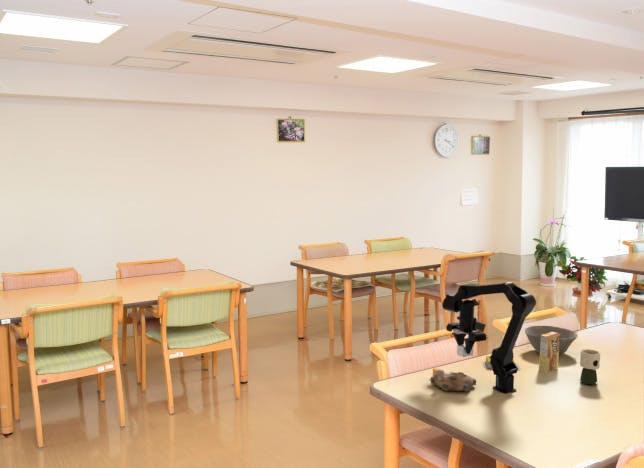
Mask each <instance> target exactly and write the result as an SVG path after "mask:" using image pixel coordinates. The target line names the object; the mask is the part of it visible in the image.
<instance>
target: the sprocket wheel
mask: <svg viewBox="0 0 644 468" xmlns="http://www.w3.org/2000/svg"><path fill="white" fill-rule="evenodd" d="M430 384H431V385H435V386H436V387H438V388H441V390H443V391H455V392H456V391H458V392H459V391H460V392H461V391H462V392H463V391H464V392H470V390H471V389H472V388H473V386H477V379H476V378H472V377H471V376H469V375H468V374H465V373H464V372H460V371H458V372H454V371H453V372H452V371H444V370H443V369H441V370H439V372H438V374H436V375H434V377H433V376H430Z"/></svg>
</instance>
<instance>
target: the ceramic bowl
mask: <svg viewBox="0 0 644 468" xmlns="http://www.w3.org/2000/svg"><path fill="white" fill-rule="evenodd" d="M550 332H555V333H559V334H560V345H559V355H563V354H564V353H566V352H567V351H568V349H569V348H570V346H571V345H572V343H574V341H575V340H576V339H577V338H578V333H577V332H575V331H573V330H571V329H567V328H564V327H558V326H553V325H531V326H528V327H526V328H525V329H524V333H525V334H526V337H527V340H528V342H529V343H530V346H532V347H533V349H535V351H537V353H539V354H540V343H541V335H543V334H546V333H550Z"/></svg>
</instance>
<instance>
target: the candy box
mask: <svg viewBox="0 0 644 468" xmlns="http://www.w3.org/2000/svg"><path fill="white" fill-rule="evenodd" d="M559 345H560V334H559V333H555V332H550V333H546V334H543V335H541V343H540V353H539V358H538V361H539V362H538V370H539V371H542V372H545V373H548V372H552V371H553V370H556V369H559Z"/></svg>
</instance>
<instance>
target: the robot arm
mask: <svg viewBox="0 0 644 468" xmlns="http://www.w3.org/2000/svg"><path fill="white" fill-rule="evenodd" d="M495 294H503V295H504V296H505V297H506V299H507V301H509V303H511V304H512V305H511V313H512V316H511V318H510V320H509V323H508V326H507V328H506V331H505V333H504V336H503V338H502V341H501V343H500V346H499V347H495V348H493V349H492V351H491V355H489V356H490V357H489V358H491V359H490V364H491V366H492V369H491V370H492V372H493V376H495V385H493V386H492V388H493V389H495V390H497V391H499V392H500V393H503V394H507V393H512V392H517V389H516V388H514V386H515V385H514V383H515V374H517V373H518V371H519V370H518V368H517V366H516V365H515V363H516V362H515V363H514V362H513V359H514V349H515V346H516V343H517V340H518V337H519V335H520V332H521V330H522V327H523V325H524V322H525V320H526V318H527V317H528V316H529V315H530V314H531V313H532V311H533V310H534V308H535V307H536V304H537V300H536V298H535V296H534V295H533V294H531V293H529V292H528V291H526V290H525V289H523V288H521V287H519V286H517V284H515V283H514V282H512V281H505V282H500V283H493V284H479V283H467V284H461V285H460V286H458V289H457V292H456V293H455V294H454V295H453V294H452V293H448V294H445V297H444V299H443V301H442V305H441V306H442V309H443V310H444V311H448V312H452V313H459V315H458V316H456V320H459V321H458V322H450V323H447V325H446V329H445V331H448V332H451V335H453V338H454V340H455V342H456V344H457V345H459V344H465V346H466V351H467V354H470V352H471V350H472V347H473V348H474V345H475V343H476V342H484V341H487V333H485V328H486V326H487V325H486V324H485V323H482V322H480V321H478V320H477V318H476V317H475V307H477V306H479V305H480V303H479V302H478V301H477V300H476V299H474V298H476V297H479V296H483V295H484V296H485V295H495ZM472 298H473V299H472ZM465 337H466V338H465Z"/></svg>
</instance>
